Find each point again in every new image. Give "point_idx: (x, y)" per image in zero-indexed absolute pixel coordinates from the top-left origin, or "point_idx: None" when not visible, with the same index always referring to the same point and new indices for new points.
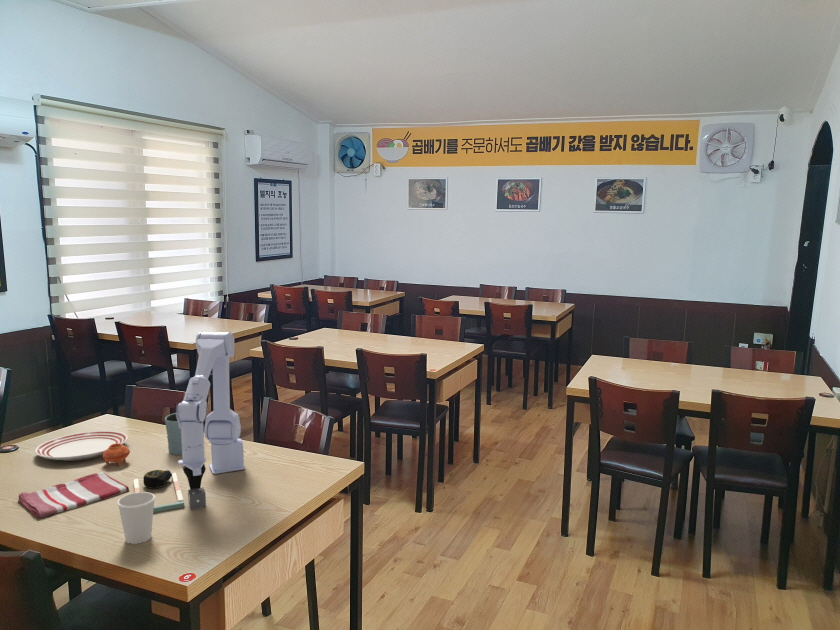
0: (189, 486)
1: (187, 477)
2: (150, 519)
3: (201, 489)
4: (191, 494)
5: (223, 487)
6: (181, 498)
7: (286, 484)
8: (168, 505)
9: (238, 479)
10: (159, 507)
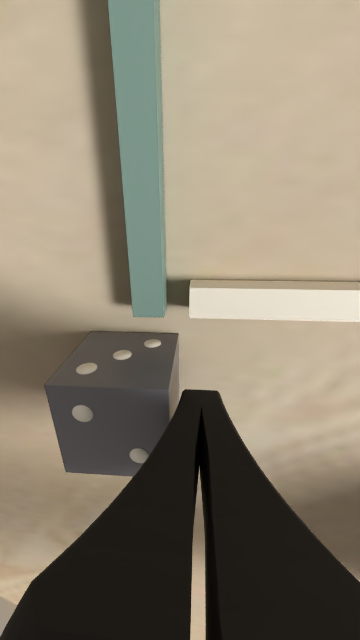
0: (210, 413)
1: (95, 521)
2: None
3: (133, 463)
4: (60, 398)
5: (302, 496)
6: (216, 310)
7: (198, 624)
8: (125, 208)
9: (354, 551)
10: (119, 128)
